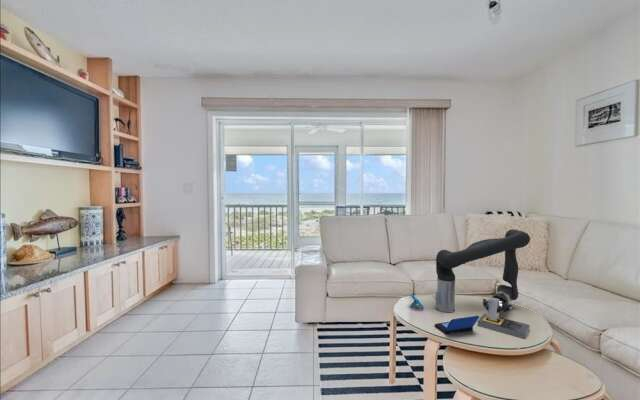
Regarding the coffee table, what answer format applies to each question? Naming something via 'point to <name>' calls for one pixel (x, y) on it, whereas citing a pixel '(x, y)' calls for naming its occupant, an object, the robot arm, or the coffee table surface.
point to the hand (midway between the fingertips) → (492, 309)
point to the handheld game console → (457, 325)
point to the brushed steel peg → (493, 310)
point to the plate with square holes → (505, 326)
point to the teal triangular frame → (416, 302)
